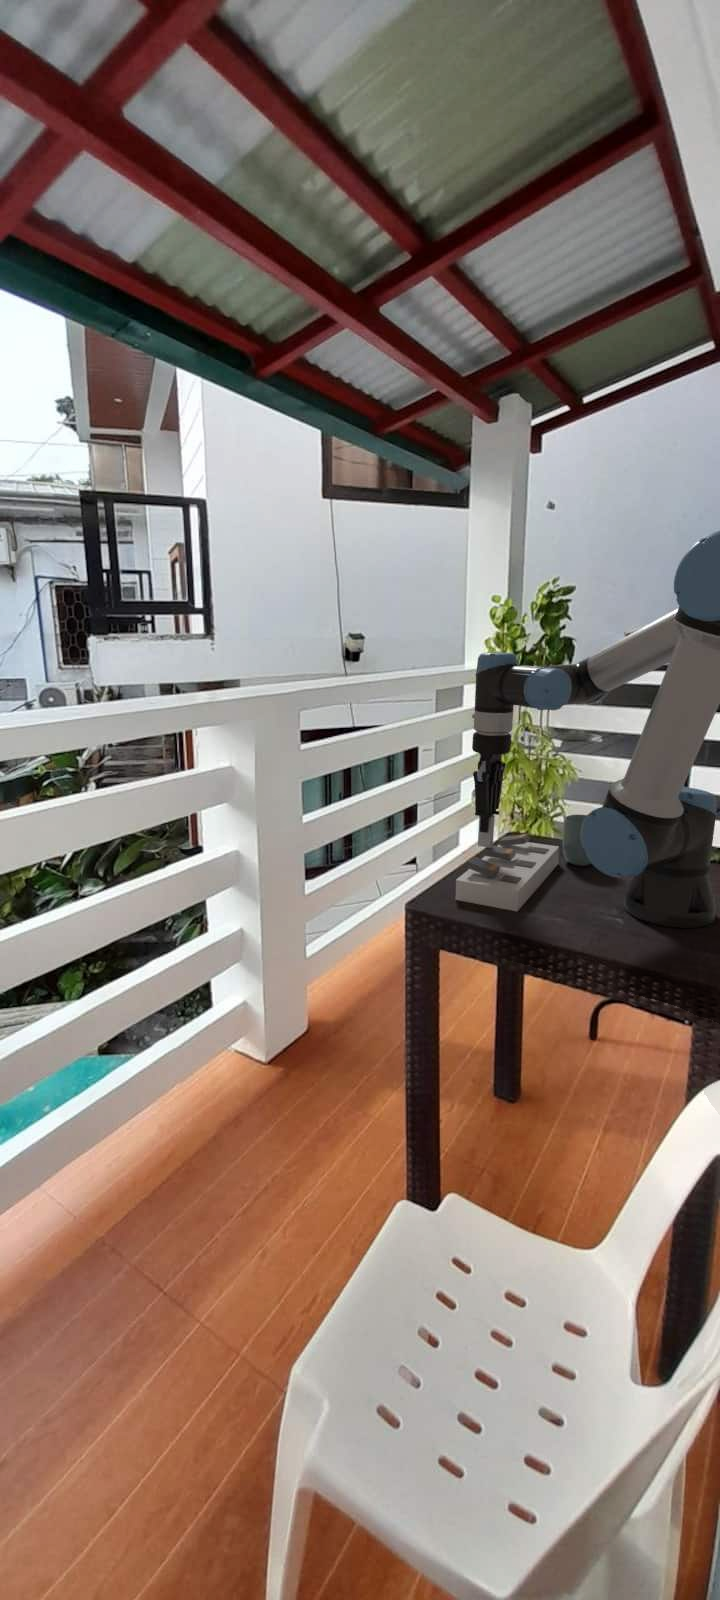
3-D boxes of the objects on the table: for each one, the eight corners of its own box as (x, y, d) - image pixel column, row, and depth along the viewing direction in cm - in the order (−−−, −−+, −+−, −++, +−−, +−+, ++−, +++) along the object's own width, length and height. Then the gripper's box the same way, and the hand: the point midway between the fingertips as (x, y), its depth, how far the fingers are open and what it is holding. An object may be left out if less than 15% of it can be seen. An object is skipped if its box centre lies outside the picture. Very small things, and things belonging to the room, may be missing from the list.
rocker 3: (529, 839, 151) (528, 833, 151) (525, 843, 148) (523, 837, 148) (505, 841, 154) (504, 835, 154) (500, 846, 151) (498, 840, 151)
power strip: (567, 853, 160) (568, 835, 159) (517, 911, 127) (518, 889, 126) (516, 845, 166) (517, 828, 165) (455, 899, 133) (456, 878, 132)
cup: (586, 871, 148) (590, 826, 146) (554, 862, 154) (557, 818, 151) (605, 863, 153) (609, 819, 151) (573, 855, 159) (576, 812, 156)
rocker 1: (498, 872, 135) (500, 866, 134) (492, 878, 132) (494, 872, 131) (472, 861, 137) (474, 855, 137) (465, 867, 134) (467, 860, 134)
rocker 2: (515, 855, 143) (516, 849, 143) (510, 860, 140) (510, 854, 140) (489, 850, 146) (489, 844, 145) (483, 855, 143) (483, 849, 142)
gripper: (485, 726, 145) (478, 834, 151) (462, 735, 134) (456, 851, 140) (520, 729, 142) (512, 840, 148) (500, 738, 131) (492, 858, 137)
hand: (485, 845), depth 144 cm, fingers closed
